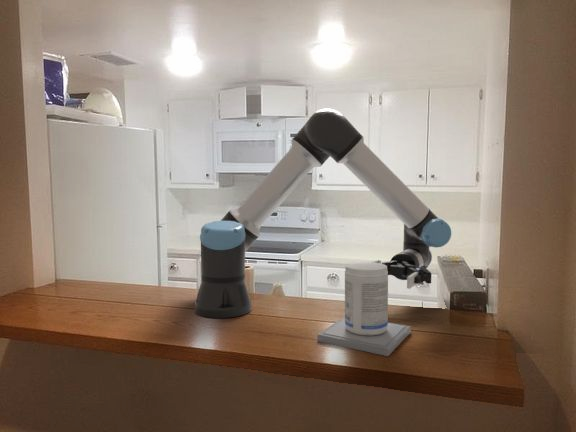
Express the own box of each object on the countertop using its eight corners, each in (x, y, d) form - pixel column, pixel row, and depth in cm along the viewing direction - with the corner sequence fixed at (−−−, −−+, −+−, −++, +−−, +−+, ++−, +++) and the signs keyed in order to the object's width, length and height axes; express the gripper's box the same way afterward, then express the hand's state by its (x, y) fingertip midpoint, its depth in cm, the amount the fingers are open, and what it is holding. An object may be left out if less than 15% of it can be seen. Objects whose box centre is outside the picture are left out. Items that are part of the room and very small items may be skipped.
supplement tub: (392, 326, 104) (394, 263, 102) (380, 340, 95) (381, 271, 94) (352, 320, 108) (353, 259, 107) (337, 332, 100) (338, 267, 99)
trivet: (317, 340, 99) (317, 333, 99) (346, 320, 113) (346, 314, 113) (387, 356, 91) (388, 348, 91) (410, 332, 105) (410, 325, 105)
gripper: (451, 283, 121) (432, 302, 103) (364, 272, 134) (333, 287, 116) (453, 255, 121) (434, 269, 103) (364, 247, 133) (334, 258, 115)
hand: (380, 279), depth 109 cm, fingers open, 13 cm apart
